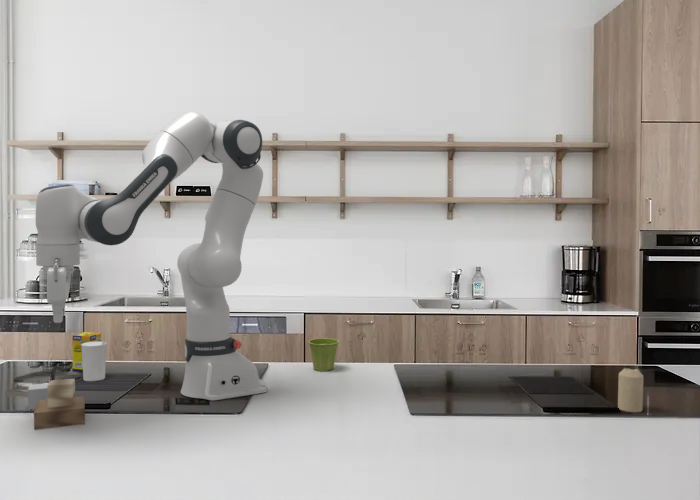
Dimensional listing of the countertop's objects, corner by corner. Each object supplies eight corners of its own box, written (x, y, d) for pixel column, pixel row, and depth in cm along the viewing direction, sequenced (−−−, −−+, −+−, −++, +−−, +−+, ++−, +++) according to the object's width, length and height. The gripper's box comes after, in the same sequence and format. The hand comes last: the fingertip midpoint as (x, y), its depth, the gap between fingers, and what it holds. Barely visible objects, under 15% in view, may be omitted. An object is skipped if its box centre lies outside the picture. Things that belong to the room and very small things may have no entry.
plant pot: (338, 373, 187) (338, 344, 186) (306, 372, 187) (307, 343, 187) (339, 365, 196) (339, 338, 196) (309, 365, 196) (309, 338, 196)
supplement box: (90, 372, 185) (89, 336, 184) (71, 371, 186) (71, 335, 186) (101, 368, 191) (101, 332, 190) (84, 367, 192) (83, 331, 191)
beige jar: (642, 407, 154) (643, 367, 153) (642, 413, 149) (643, 372, 148) (618, 404, 156) (619, 365, 156) (617, 410, 151) (618, 369, 151)
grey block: (52, 402, 155) (52, 382, 154) (51, 408, 150) (51, 387, 150) (29, 405, 153) (29, 384, 153) (28, 410, 148) (27, 389, 148)
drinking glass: (111, 377, 179) (111, 343, 179) (91, 382, 173) (90, 347, 173) (97, 374, 183) (96, 340, 182) (76, 379, 177) (76, 344, 177)
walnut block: (84, 413, 148) (84, 396, 148) (84, 425, 139) (84, 408, 138) (37, 417, 144) (37, 400, 144) (34, 431, 135) (33, 413, 135)
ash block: (75, 400, 144) (74, 378, 144) (72, 406, 140) (72, 384, 139) (51, 401, 143) (51, 380, 143) (47, 408, 138) (47, 385, 138)
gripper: (72, 260, 131) (73, 325, 132) (75, 254, 150) (75, 312, 151) (38, 260, 129) (39, 327, 129) (45, 255, 148) (46, 313, 148)
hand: (59, 319), depth 140 cm, fingers open, 8 cm apart
